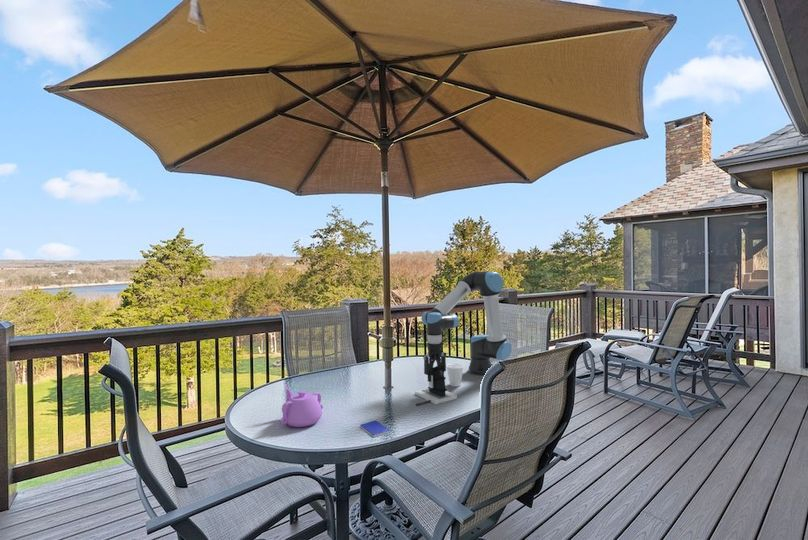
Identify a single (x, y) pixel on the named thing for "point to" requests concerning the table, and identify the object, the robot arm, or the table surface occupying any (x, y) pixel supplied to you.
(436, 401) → the charging pad
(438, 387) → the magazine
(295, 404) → the teapot
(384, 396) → the table surface
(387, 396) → the table surface
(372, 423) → the hard drive
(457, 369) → the cup
